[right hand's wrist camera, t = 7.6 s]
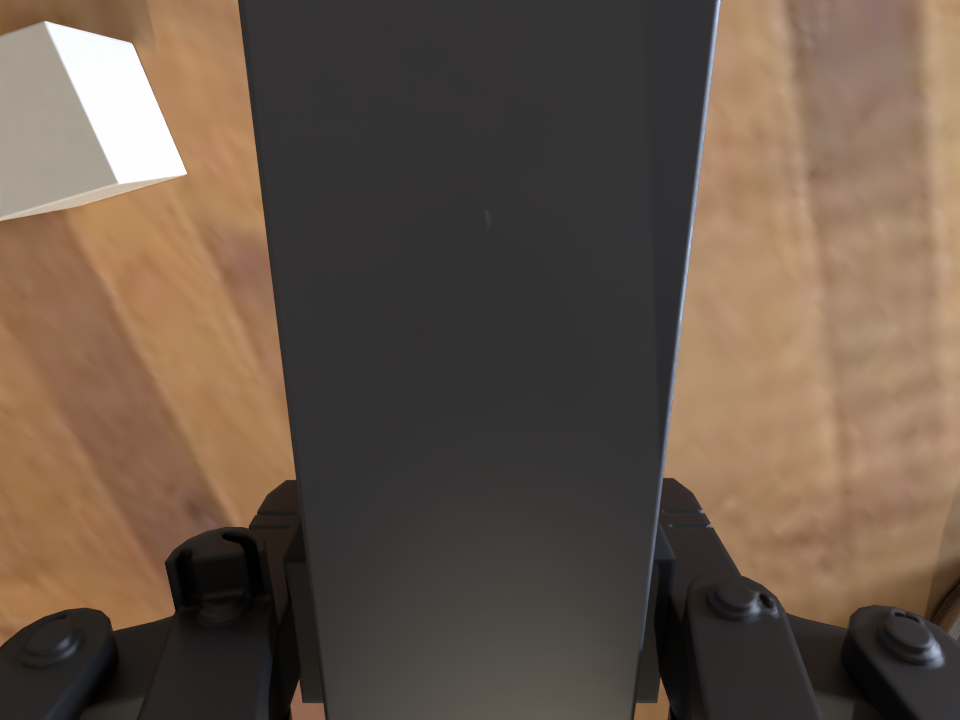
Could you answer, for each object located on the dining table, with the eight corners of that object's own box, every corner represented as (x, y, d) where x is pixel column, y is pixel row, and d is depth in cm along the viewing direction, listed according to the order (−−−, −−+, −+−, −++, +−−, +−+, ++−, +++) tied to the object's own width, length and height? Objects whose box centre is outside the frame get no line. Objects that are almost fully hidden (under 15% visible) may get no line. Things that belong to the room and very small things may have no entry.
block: (132, 42, 23) (44, 19, 18) (188, 174, 25) (120, 184, 20) (15, 79, 24) (-100, 66, 19) (77, 206, 25) (-14, 223, 21)
